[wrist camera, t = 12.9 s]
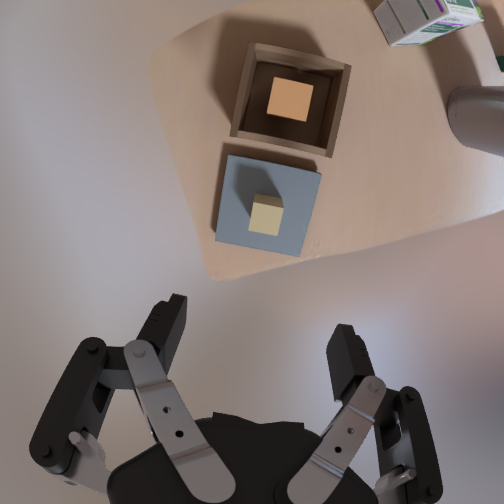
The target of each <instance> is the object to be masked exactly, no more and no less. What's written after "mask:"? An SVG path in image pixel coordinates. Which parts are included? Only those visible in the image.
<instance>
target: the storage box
mask: <svg viewBox="0 0 504 504" xmlns="http://www.w3.org/2000/svg"><path fill="white" fill-rule="evenodd" d="M350 71H351V65H348V64H345V63H342V62H338V61H335V60H332V59H328V58H325V57H321V56H318V55H314V54H310V53H306V52H302V51H297V50H293V49H288V48H283V47H278V46H272V45H266V44H260V43H253V42H249V43H248V48H247V52H246V57H245V61H244V66H243V70H242V75H241V80H240V84H239V89H238V94H237V99H236V104H235V109H234V114H233V120H232V125H231V130H230V136H231V137H237V138H243V139H249V140H254V141H259V142H265V143H270V144H274V145H279V146H284V147H288V148H293V149H297V150H301V151H305V152H310V153H314V154H317V155H321V156H325V157H329V158H332V155H333V150H334V146H335V142H336V138H337V133H338V129H339V125H340V120H341V116H342V111H343V106H344V102H345V97H346V92H347V87H348V82H349V77H350ZM274 77H277V78H282V79H287V80H291V81H296V82H300V83H304V84H308V85H312V86H313V91H312V96H311V100H310V105H309V110H308V114H307V119H306V122H298V121H294V120H289V119H285V118H280V117H275V116H270V115H267V109H268V105H269V100H270V95H271V90H272V85H273V81H274Z"/></svg>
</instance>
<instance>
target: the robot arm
mask: <svg viewBox="0 0 504 504" xmlns="http://www.w3.org/2000/svg"><path fill="white" fill-rule="evenodd" d="M448 118H449V123H450V126H451V129H452V131H453V133H454V135H455V136H456V138H457V139H458V140H459V141H460V142H461V143H462V144H463V145H465V146H467V147H470V148H474V149H477V150H481V151H484V152H488V153H491V154H495V155H498V156H501V157H504V86H477V87H461V88H457V89H456V90H454V91H453V93H452V94H451V96H450V98H449V102H448ZM186 312H187V296H183V295H179V294H174V293H173V294H172V296H171V298H170V300H169V301H168V302H165V301H160V302H159V303H157V304H156V305H155V306H154V307H153V309H152V311H151V313H150V314H149V316H148V319H147V320H146V322H145V323H144V326H143V327H142V329H141V331H140V333H139V335H138V336H137V338H136V340H133V341H130V342H129V343H127V344H126V346H124V347H111V346H106V344H105V342H104V341H103V340H102V339H100V338H97V337H89V338H86V339H84V340H83V341H82V342H81V343H80V345H79V346H78V348H77V350H76V351H75V353H74V355H73V356H72V358H71V360H70V362H69V364H68V365H67V367H66V369H65V371H64V373H63V375H62V376H61V378H60V380H59V382H58V384H57V386H56V388H55V390H54V392H53V394H52V395H51V398H50V400H49V402H48V404H47V406H46V408H45V410H44V412H43V414H42V417H41V418H40V421H39V423H38V425H37V427H36V430H35V432H34V434H33V437H32V439H31V441H30V445H29V451H30V454H31V457H32V458H33V460H34V461H35V462H36V463H37V464H39V465H40V466H41V467H43V468H44V469H45V470H46V471H47V472H49V473H51V474H52V475H53V476H55V477H57V478H58V479H60V480H62V481H64V482H66V483H68V484H70V485H80V486H82V487H84V488H87V489H89V490H92V491H94V492H97V493H99V494H102V495H104V496H107V497H108V498H109V501H110V504H434V503H436V502H437V501H438V500H439V499H440V498H441V496H442V494H443V485H442V480H441V474H440V469H439V464H438V459H437V455H436V450H435V446H434V442H433V438H432V434H431V430H430V426H429V423H428V419H427V416H426V412H425V409H424V406H423V402H422V399H421V396H420V394H419V392H418V391H417V390H416V389H414V388H412V387H409V386H406V387H403V388H402V389H401V390H400V391H399V392H398V391H395V390H392V389H388V388H386V385H385V383H384V382H383V381H382V380H381V379H380V378H378V377H376V376H375V373H374V370H373V367H372V364H371V361H370V358H369V357H368V351H367V349H366V346H365V343H364V341H363V340H362V339H361V337H360V336H359V335H355V332H354V329H353V326H352V325H346V324H338V325H337V327H336V328H335V331H334V333H333V335H332V337H331V339H330V341H329V343H328V345H327V350H326V354H327V360H328V365H329V371H330V377H331V383H332V389H333V395H334V401H335V402H342V404H343V406H342V407H341V408H340V410H339V411H338V413H337V414H336V416H335V417H334V418H333V420H332V421H331V422H330V424H329V425H328V426H327V428H326V429H325V430H324V432H323V433H322V434H321V435H320V436H318V435H317V434H315V433H313V432H312V431H309V430H307V429H304V423H299V422H284V421H282V422H274V423H266V424H257V423H254V422H252V421H249V420H246V419H243V418H241V417H238V416H233V415H228V414H222V413H216V412H213V416H212V418H201V419H198V420H193V418H192V416H191V415H190V413H189V411H188V409H187V408H186V406H185V404H184V402H183V400H182V399H181V397H180V395H179V393H178V391H177V389H176V387H175V385H174V383H173V382H172V381H171V380H168V378H167V374H168V372H169V369H170V366H171V363H172V361H173V358H174V355H175V352H176V350H177V347H178V344H179V342H180V339H181V336H182V334H183V331H184V328H185V324H186ZM115 389H130V390H133V391H134V393H135V396H136V399H137V401H138V404H139V406H140V408H141V411H142V413H143V415H144V418H145V420H146V423H147V426H148V428H149V430H150V432H151V435H152V437H153V439H154V441H155V443H156V444H155V445H153V446H152V447H150V448H149V449H147V450H145V451H144V452H142V453H141V454H139V455H137V456H135V457H134V458H132V459H130V460H128V461H127V462H125V463H123V464H122V465H120V466H118V467H117V468H116V469H114V470H113V471H112V472H111V471H108V470H107V468H106V465H105V452H104V449H103V448H102V446H101V445H100V444H99V443H98V441H97V438H98V435H99V432H100V429H101V426H102V424H103V421H104V418H105V415H106V412H107V410H108V407H109V404H110V401H111V399H112V396H113V394H114V391H115ZM399 424H400V426H399ZM372 425H374V431H375V438H376V444H377V453H378V461H379V470H380V478H379V479H378V480H377V482H376V484H375V488H374V490H372V489H371V488H370V487H369V486H368V485H367V484H366V483H365V482H364V481H363V480H362V479H361V478H360V477H359V476H358V475H357V474H356V473H355V472H354V471H353V470H352V469H351V468H350V467H349V466H348V465H349V464H350V462H351V461H352V459H353V458H354V456H355V454H356V453H357V451H358V449H359V448H360V446H361V444H362V443H363V441H364V439H365V438H366V436H367V434H368V432H369V430H370V429H371V426H372ZM400 427H401V431H400ZM401 432H402V436H401Z"/></svg>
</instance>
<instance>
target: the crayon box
mask: <svg viewBox="0 0 504 504" xmlns="http://www.w3.org/2000/svg"><path fill="white" fill-rule="evenodd" d="M496 59H497V61H498V64H499V66H500V69H501V72H504V56H500V57H496Z"/></svg>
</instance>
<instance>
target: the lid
mask: <svg viewBox="0 0 504 504" xmlns="http://www.w3.org/2000/svg"><path fill="white" fill-rule="evenodd" d="M321 175H322V174H321V173H318V172H314V171H310V170H306V169H302V168H297V167H293V166H288V165H284V164H279V163H274V162H269V161H264V160H259V159H254V158H248V157H243V156H237V155H231V154H229V155H228V159H227V165H226V171H225V177H224V183H223V189H222V196H221V202H220V209H219V216H218V222H217V229H216V237H215V241H218V242H223V243H228V244H234V245H239V246H244V247H249V248H254V249H260V250H265V251H270V252H275V253H280V254H286V255H291V256H296V257H299V256H300V253H301V249H302V246H303V242H304V239H305V235H306V232H307V228H308V225H309V221H310V217H311V214H312V210H313V206H314V203H315V199H316V195H317V191H318V187H319V183H320V179H321Z"/></svg>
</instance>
